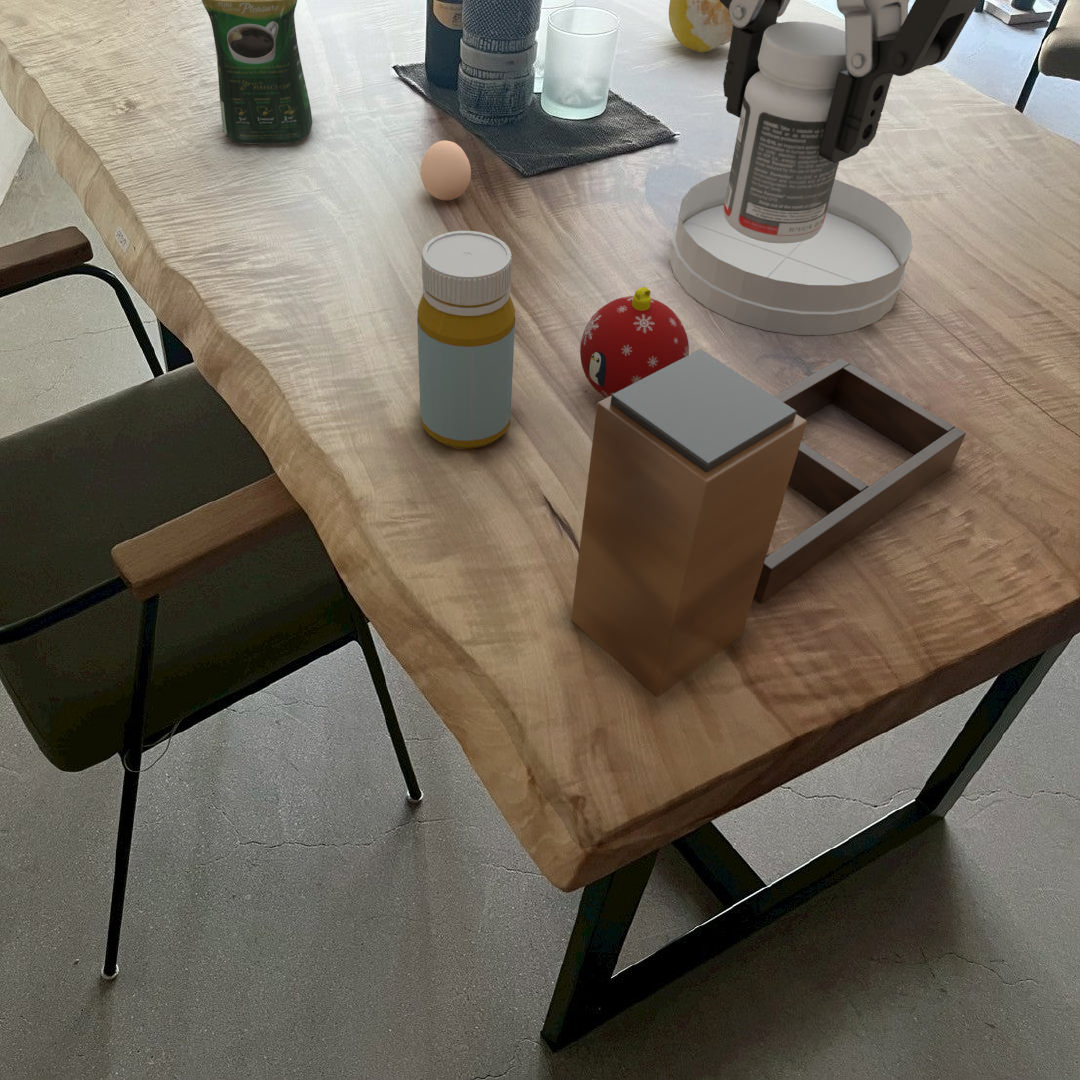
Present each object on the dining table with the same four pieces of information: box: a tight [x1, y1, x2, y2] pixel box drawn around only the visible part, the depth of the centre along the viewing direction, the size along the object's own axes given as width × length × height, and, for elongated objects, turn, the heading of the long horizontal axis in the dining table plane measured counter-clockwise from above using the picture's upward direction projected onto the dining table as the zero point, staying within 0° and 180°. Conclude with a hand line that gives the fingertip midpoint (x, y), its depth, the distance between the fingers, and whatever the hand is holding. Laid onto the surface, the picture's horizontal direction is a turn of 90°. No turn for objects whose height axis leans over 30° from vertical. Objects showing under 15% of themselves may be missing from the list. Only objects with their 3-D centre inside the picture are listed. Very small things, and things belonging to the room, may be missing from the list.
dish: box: [669, 171, 913, 336], centre depth 100 cm, size 22×22×5 cm
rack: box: [753, 357, 967, 605], centre depth 78 cm, size 12×23×4 cm, turn 131°
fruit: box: [668, 0, 733, 53], centre depth 137 cm, size 10×11×10 cm
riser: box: [570, 396, 808, 698], centre depth 62 cm, size 8×8×18 cm
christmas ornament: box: [579, 286, 690, 399], centre depth 82 cm, size 9×9×10 cm
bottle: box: [416, 230, 516, 450], centre depth 77 cm, size 7×7×15 cm
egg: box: [420, 140, 472, 201], centre depth 105 cm, size 5×5×6 cm
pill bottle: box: [724, 20, 847, 243], centre depth 47 cm, size 5×5×8 cm
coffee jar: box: [201, 0, 313, 145], centre depth 109 cm, size 10×8×19 cm
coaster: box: [611, 348, 797, 472], centre depth 56 cm, size 7×7×1 cm
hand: (791, 131), depth 47 cm, fingers closed on pill bottle, 4 cm apart
